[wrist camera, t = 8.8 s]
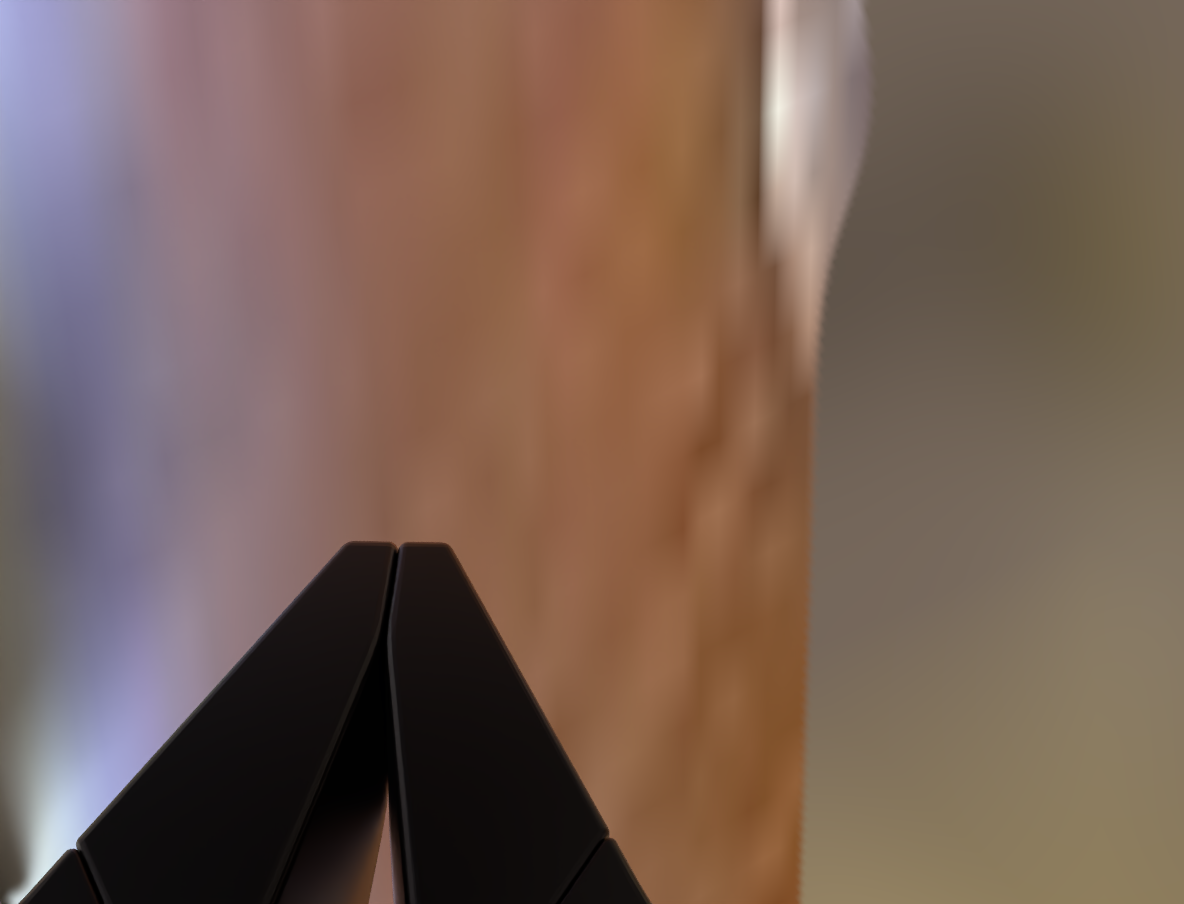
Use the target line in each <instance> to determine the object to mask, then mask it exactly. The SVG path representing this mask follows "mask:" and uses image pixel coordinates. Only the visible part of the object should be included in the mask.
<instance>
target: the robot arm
mask: <svg viewBox="0 0 1184 904" xmlns="http://www.w3.org/2000/svg"><path fill="white" fill-rule="evenodd" d="M388 793H389V827H390V848H391V865H392V882H393V899H394V904H652V903H651V902H650V900H649V898H648V897H647V895H646V893H645V892H644V890H643V888H642V887H641V885H640V884H639V882H638V880H637V878H636V876H635V875H634V873H633V871H632V869H631V867H630V866H629V864H628V862H627V860H626V859H625V857H624V855H623V853H622V851H621V850H620V848H619V846H618V844H617V842H616V841H615V840H614V839H613V838H609V829H608V827H607V825H606V824H605V822H604V820H603V818H602V816H601V815H600V813H599V811H598V809H597V808H596V806H595V804H594V802H593V800H592V799H591V797H590V795H589V793H588V791H587V790H586V788H585V786H584V784H583V782H582V781H581V779H580V777H579V775H578V773H577V772H576V770H575V768H574V766H573V764H572V763H571V761H570V759H569V757H568V755H567V754H566V752H565V750H564V748H563V746H562V745H561V743H560V741H559V739H558V738H557V736H556V734H555V732H554V730H553V729H552V727H551V725H550V723H549V721H548V720H547V718H546V716H545V714H544V712H543V711H542V709H541V707H540V705H539V703H538V702H537V700H536V698H535V696H534V694H533V693H532V691H531V689H530V687H529V685H528V684H527V682H526V680H525V678H524V676H523V675H522V673H521V671H520V669H519V668H518V666H517V664H516V662H515V660H514V659H513V657H512V655H511V653H510V651H509V650H508V648H507V646H506V644H505V642H504V641H503V639H502V637H501V635H500V633H499V632H498V630H497V628H496V626H495V624H494V623H493V621H492V619H491V617H490V615H489V614H488V612H487V610H486V608H485V606H484V605H483V603H482V601H481V599H480V598H479V596H478V594H477V592H476V590H475V589H474V587H473V585H472V583H471V581H470V580H469V578H468V576H467V574H466V572H465V571H464V569H463V567H462V565H461V563H460V562H459V560H458V558H457V556H456V554H455V553H454V551H453V549H452V548H451V547H450V546H449V545H448V544H446V543H439V542H405V543H403V544H402V545H401V546H400V548H399V549H398V548H397V547H396V545H395V544H394V543H392V542H379V541H352V542H348V543H346V544H345V545H343V546H342V547H341V549H340V550H339V551H338V552H337V553H336V554H335V555H334V556H333V557H332V558H331V560H330V561H329V562H328V563H327V564H326V565H325V566H324V567H323V568H322V570H321V571H320V572H319V573H318V574H317V575H316V576H315V577H314V578H313V579H312V581H311V582H310V583H309V584H308V585H307V586H306V587H305V588H304V589H303V591H302V592H301V593H300V594H299V595H298V596H297V597H296V598H295V599H294V601H293V602H292V603H291V604H290V605H289V606H288V607H287V608H286V609H285V610H284V612H283V613H282V614H281V615H280V616H279V617H278V618H277V619H276V620H275V622H274V623H273V624H272V625H271V626H270V627H269V628H268V629H267V630H266V631H265V633H264V634H263V635H262V636H261V637H260V638H259V639H258V640H257V641H256V643H255V644H254V645H253V646H252V647H251V648H250V649H249V650H248V651H247V653H246V654H245V655H244V656H243V657H242V658H241V659H240V660H239V661H238V662H237V664H236V665H235V666H234V667H233V668H232V669H231V670H230V671H229V672H228V674H227V675H226V676H225V677H224V678H223V679H222V680H221V681H220V682H219V684H218V685H217V686H216V687H215V688H214V689H213V690H212V691H211V692H210V693H209V695H208V696H207V697H206V698H205V699H204V700H203V701H202V702H201V703H200V705H199V706H198V707H197V708H196V709H195V710H194V711H193V712H192V713H191V714H190V716H189V717H188V718H187V719H186V720H185V721H184V722H183V723H182V724H181V726H180V727H179V728H178V729H177V730H176V731H175V732H174V733H173V734H172V736H171V737H170V738H169V739H168V740H167V741H166V742H165V743H164V744H163V745H162V747H161V748H160V749H159V750H158V751H157V752H156V753H155V754H154V755H153V757H152V758H151V759H150V760H149V761H148V762H147V763H146V764H145V765H144V766H143V768H142V769H141V770H140V771H139V772H138V773H137V774H136V775H135V776H134V778H133V779H132V780H131V781H130V782H129V783H128V784H127V785H126V786H125V788H124V789H123V790H122V791H121V792H120V793H119V794H118V795H117V796H116V797H115V799H114V800H113V801H112V802H111V803H110V804H109V805H108V806H107V807H106V809H105V810H104V811H103V812H102V813H101V814H100V815H99V816H98V817H97V819H96V820H95V821H94V822H93V823H92V824H91V825H90V826H89V827H88V828H87V830H86V831H85V832H84V833H83V834H82V835H81V836H80V837H79V838H78V840H77V842H76V846H77V850H76V849H69V850H67V851H66V852H65V853H64V854H63V855H62V856H61V857H60V859H59V860H58V861H57V862H56V863H55V864H54V865H53V866H52V868H51V869H50V870H49V871H48V872H47V873H46V874H45V875H44V876H43V878H42V879H41V880H40V881H39V882H38V883H37V884H36V885H35V886H34V887H33V889H32V890H31V891H30V892H29V893H28V894H27V895H26V896H25V897H24V898H23V899H22V900H21V901H20V903H19V904H368V903H369V898H370V892H371V887H372V882H373V877H374V872H375V867H376V862H377V857H378V852H379V847H380V842H381V837H382V831H383V825H384V819H385V813H386V807H387V798H388ZM0 904H2V903H1V901H0Z"/></svg>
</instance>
